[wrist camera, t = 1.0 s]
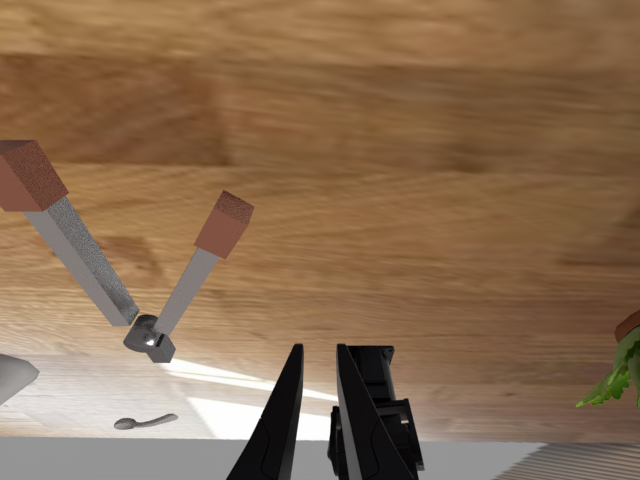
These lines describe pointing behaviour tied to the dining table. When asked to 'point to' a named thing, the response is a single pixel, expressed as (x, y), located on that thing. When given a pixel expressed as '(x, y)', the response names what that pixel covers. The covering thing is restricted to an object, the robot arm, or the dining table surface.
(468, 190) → the dining table surface
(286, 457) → the robot arm
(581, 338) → the dining table surface
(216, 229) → the tong arm
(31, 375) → the flask
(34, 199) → the tongs fixed
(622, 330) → the potted flower
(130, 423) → the spoon
